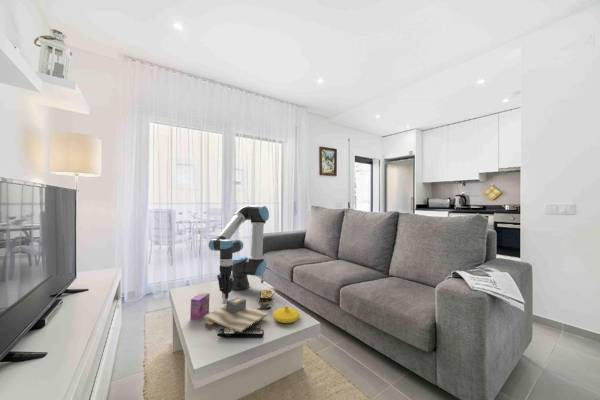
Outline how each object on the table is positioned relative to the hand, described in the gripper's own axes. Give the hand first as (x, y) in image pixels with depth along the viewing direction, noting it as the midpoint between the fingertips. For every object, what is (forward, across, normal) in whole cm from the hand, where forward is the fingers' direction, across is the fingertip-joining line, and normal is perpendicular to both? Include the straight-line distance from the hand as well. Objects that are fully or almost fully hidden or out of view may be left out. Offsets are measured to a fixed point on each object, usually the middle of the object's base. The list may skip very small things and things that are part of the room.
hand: (225, 303), depth 151 cm
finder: (+1, +9, 0) cm, 9 cm away
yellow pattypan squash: (+5, +37, +12) cm, 40 cm away
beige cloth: (+5, +14, -6) cm, 16 cm away
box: (+5, -8, -12) cm, 15 cm away
